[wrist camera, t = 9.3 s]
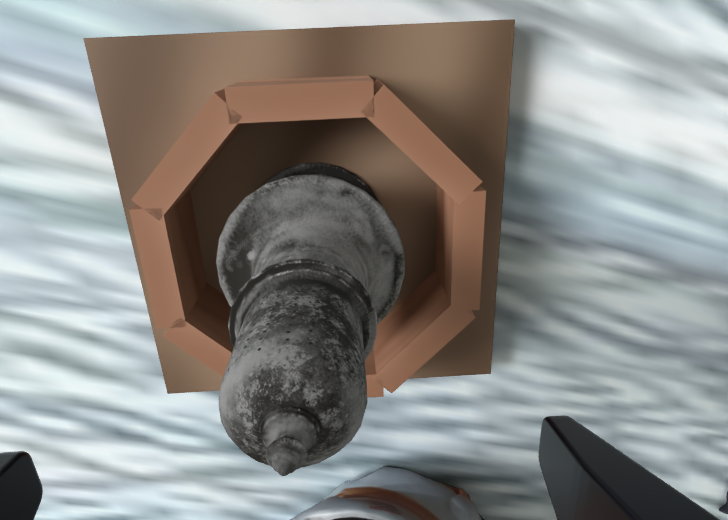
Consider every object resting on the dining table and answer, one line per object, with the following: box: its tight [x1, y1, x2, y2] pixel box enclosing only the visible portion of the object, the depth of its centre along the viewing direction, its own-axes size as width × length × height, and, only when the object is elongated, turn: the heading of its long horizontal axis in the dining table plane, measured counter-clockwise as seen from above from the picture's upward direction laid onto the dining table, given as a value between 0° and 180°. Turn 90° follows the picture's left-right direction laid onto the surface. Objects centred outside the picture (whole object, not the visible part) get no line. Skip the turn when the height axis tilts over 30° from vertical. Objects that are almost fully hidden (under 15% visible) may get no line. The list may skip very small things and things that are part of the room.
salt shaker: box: [216, 162, 405, 476], centre depth 14 cm, size 6×6×12 cm
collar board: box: [84, 20, 515, 398], centre depth 18 cm, size 14×14×4 cm
